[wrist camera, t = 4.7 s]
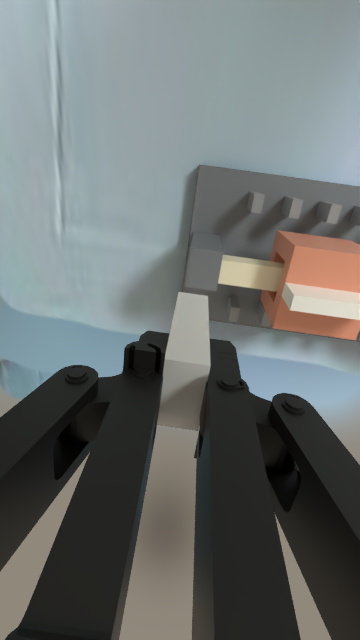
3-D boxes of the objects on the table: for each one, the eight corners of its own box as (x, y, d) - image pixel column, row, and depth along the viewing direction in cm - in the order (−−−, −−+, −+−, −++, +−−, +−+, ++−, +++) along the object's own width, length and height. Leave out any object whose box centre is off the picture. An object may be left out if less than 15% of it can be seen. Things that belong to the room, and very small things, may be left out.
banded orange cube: (260, 298, 29) (279, 345, 21) (277, 230, 27) (305, 254, 19) (327, 308, 29) (371, 358, 21) (350, 240, 27) (410, 269, 19)
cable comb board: (179, 310, 35) (172, 348, 27) (199, 164, 29) (197, 163, 21) (446, 349, 34) (511, 397, 27) (521, 209, 28) (630, 222, 21)
